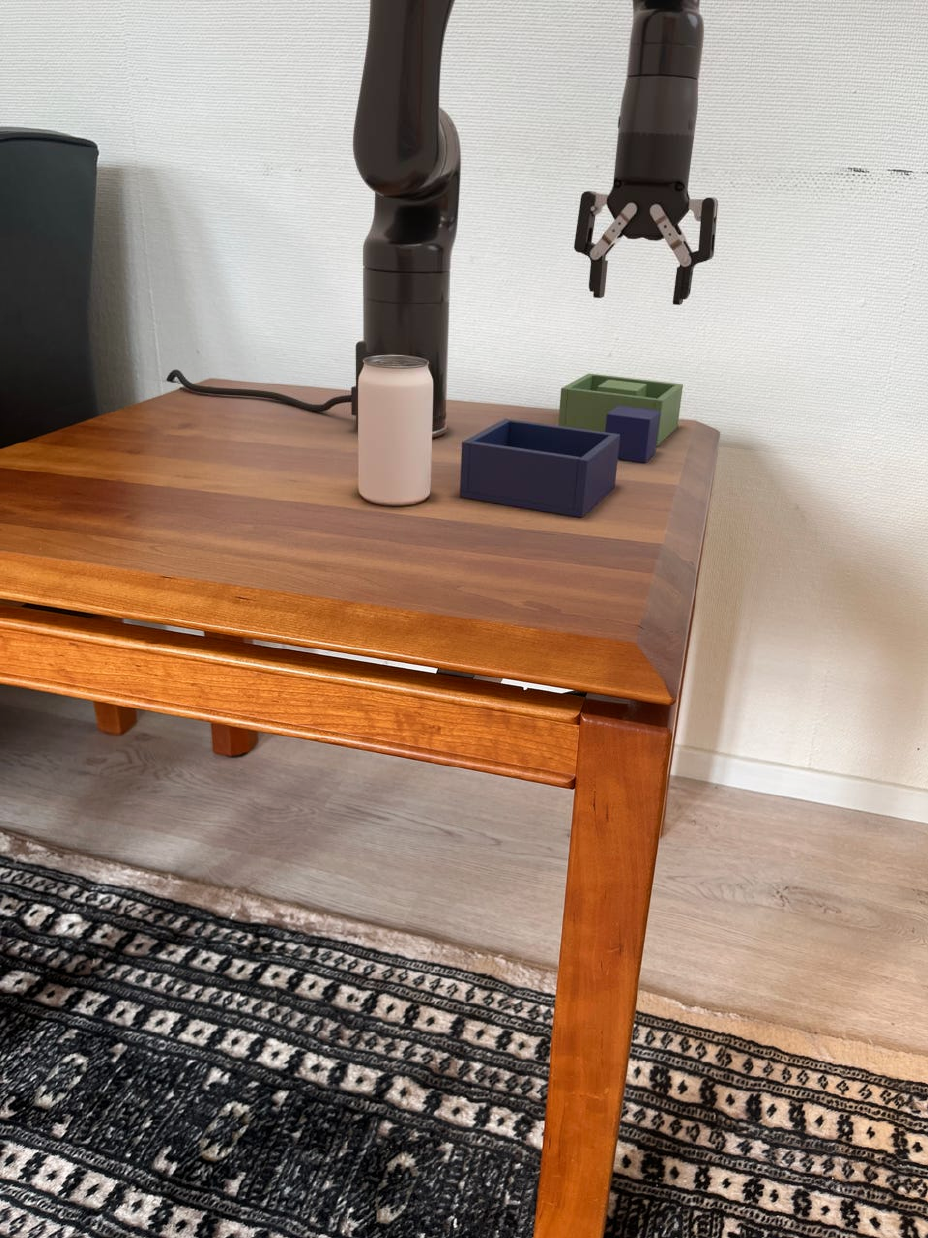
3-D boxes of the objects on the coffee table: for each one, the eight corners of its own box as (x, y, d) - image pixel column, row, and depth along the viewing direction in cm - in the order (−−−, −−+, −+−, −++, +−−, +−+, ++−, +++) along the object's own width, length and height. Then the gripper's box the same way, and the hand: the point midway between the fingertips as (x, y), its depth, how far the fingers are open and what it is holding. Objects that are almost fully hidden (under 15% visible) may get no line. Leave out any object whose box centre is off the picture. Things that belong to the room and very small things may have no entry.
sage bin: (557, 432, 113) (560, 387, 111) (584, 414, 122) (588, 373, 120) (657, 446, 109) (662, 400, 107) (677, 427, 118) (683, 384, 116)
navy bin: (459, 497, 89) (461, 441, 87) (502, 469, 98) (504, 418, 96) (582, 517, 85) (587, 460, 83) (614, 486, 94) (620, 434, 92)
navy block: (602, 456, 104) (606, 413, 102) (614, 447, 108) (618, 405, 106) (645, 463, 102) (650, 419, 100) (655, 453, 106) (660, 410, 104)
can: (420, 510, 85) (424, 369, 80) (349, 502, 86) (348, 363, 82) (437, 489, 91) (441, 357, 86) (370, 482, 92) (370, 351, 87)
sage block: (593, 426, 114) (597, 386, 112) (604, 418, 118) (608, 379, 116) (632, 431, 112) (637, 390, 110) (642, 423, 116) (646, 383, 114)
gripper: (734, 134, 99) (710, 303, 106) (596, 130, 104) (582, 291, 110) (722, 131, 93) (698, 310, 99) (576, 126, 97) (562, 298, 104)
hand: (637, 300), depth 105 cm, fingers open, 8 cm apart
